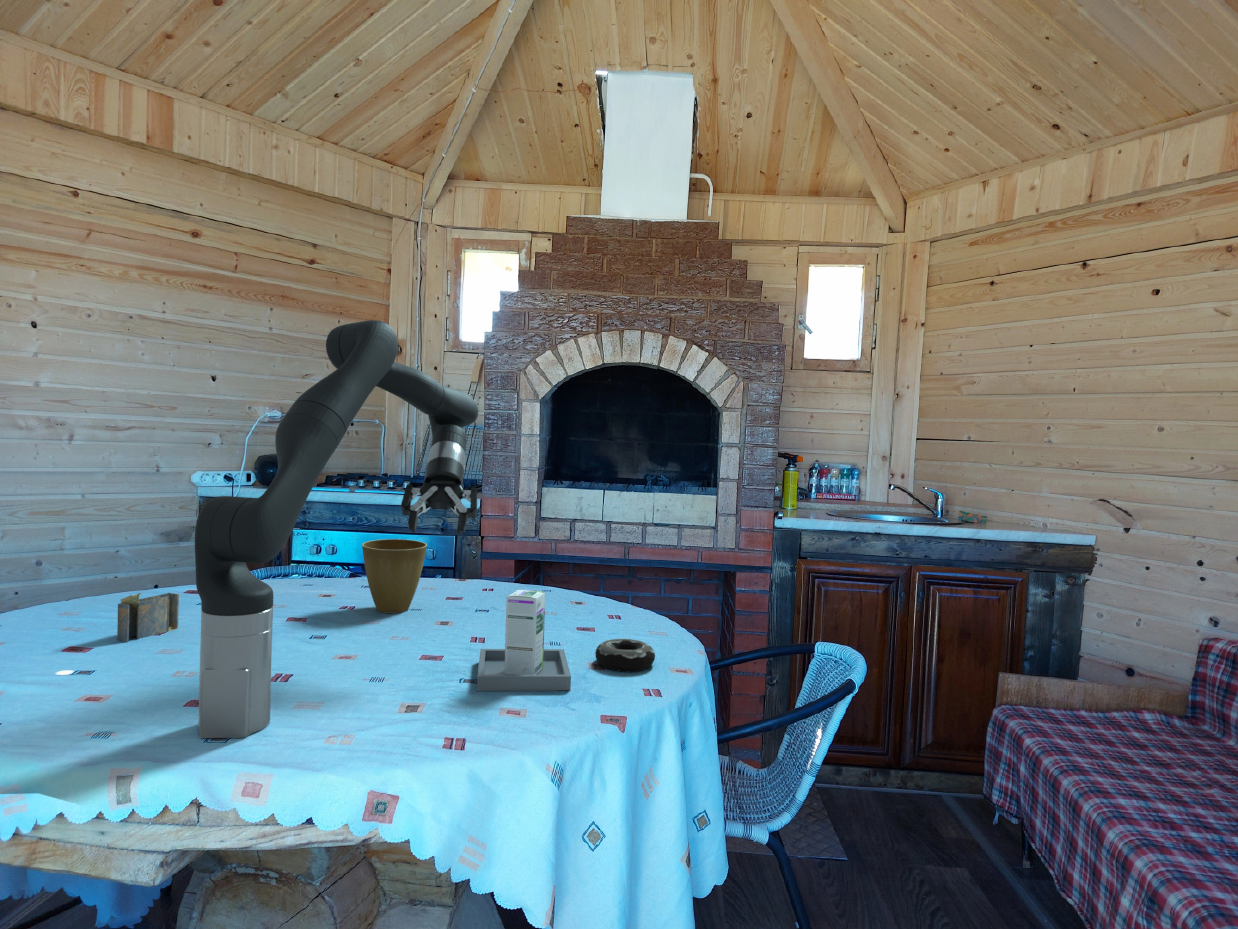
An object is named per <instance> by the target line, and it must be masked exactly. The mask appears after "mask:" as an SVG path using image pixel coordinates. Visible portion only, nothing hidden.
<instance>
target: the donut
mask: <svg viewBox="0 0 1238 929" xmlns="http://www.w3.org/2000/svg"><path fill="white" fill-rule="evenodd" d="M595 659H596V661H597V663H598V664H600V666H601V667H604V668H606V669H608V668H609V670H611V669H614V670H613V671H616V670H620V671H619V672H626V671H630V672H638V671H637V670H640V671H644V670H647V669H648V668H650V667H651V666H652V664H653V663H654V662H655V659H656V653H655V651H654V649H653V647H652V646H651V645H649V644H648V643H646V642H644V641H641V640H638V639H632V638H611V639H607V640H605V641H602V642H601V643H600V644H599V645H598V646H597V647H596V649H595ZM643 669H644V670H643Z"/></svg>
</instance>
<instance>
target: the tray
mask: <svg viewBox="0 0 1238 929" xmlns="http://www.w3.org/2000/svg"><path fill="white" fill-rule="evenodd" d="M568 663H569V662H568V660H567V656H566V653H565V649H564V648H557V649H556V648H544V655H543V668H542V669H541V670H540V671H539V672H538V673H537V674H536V675H507V674H505V672H504V671H505V648H480V650H479V657H478V667H477V668H478V669H477V677H476V692H514V691H515V692H517V691H518V692H533V691H534V692H539V691H540V692H544V691H547V692H548V691H549V692H551V691H552V692H553V691H554V692H555V691H556V692H559V691H558V690H570V691H571V687H572V686H571V683H572V682H571V680H572V675H571V671H570V666H569V665H568Z"/></svg>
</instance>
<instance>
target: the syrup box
mask: <svg viewBox="0 0 1238 929" xmlns="http://www.w3.org/2000/svg"><path fill="white" fill-rule="evenodd" d="M505 601H506V602H505V603H506V606H505V607H506V608H505V637H504V638H505V639H504V640H505V642H504V649H505V671H504V672H505V674H507V675H536V674H537V673H538V672H539V671H540V670H541V669H542V668H543V655H544V649H545V647H544V646H545V643H544V642H545V619H546V618H545V611H546V610H545V609H546V593H545V591H541V590H533V589H516V590H515V592H512V593H511V594H509V595H507V596H506V600H505Z"/></svg>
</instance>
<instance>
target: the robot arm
mask: <svg viewBox="0 0 1238 929" xmlns="http://www.w3.org/2000/svg"><path fill="white" fill-rule="evenodd" d="M398 349H399V342H398V336H397V333H396V331H395V330H394V328H393V327H392V326H391V325H390V324H388V323H387V322H385V321H382V320H377V319H375V320H373V319H369V320H362V321H356V322H351V323H345V324H341V325H338V326H335V327H334V328H333V329H331V331H330V332H329V333H328V335H327V337H326V341H325V351H326V355H327V358H328V359H329V362H331V364H332V365H333V367H334V368H336V369H335V370H333V371H332V372H331V373H330V374H328V375H327V376H325V377H323V378H322V379H321V380H319V381H318V382H316V383H315V384H313V385H312V386H311V387H309V388H308V389H306V390H305V391H304V392H302V394H300V396H298V398H297V399H296V400H295V401H294V402H293V403H292V405H291V406H290V408H289V409H288V411H287V412H286V413H285V415H284V416H283V418H282V419H281V421H280V422H279V424H278V425H277V426H278V427H277V428H276V431H275V440H274V442H275V444H274V445H275V452H276V459H277V472H276V473H275V476H274V477H273V479H272V481H271V483H270V484H269V486H268V487H267V489H266V490H265V491H264V493H262V495H260V496H258V497H248V496H247V497H246V496H245V497H244V496H234V495H233V496H231V495H228V496H226V495H221V496H215V497H213V498H211V499H209V500H208V501H207V502H206V503H205V504H204V505H203V506H202V507H201V509H200V512H199V513H198V516H197V519H196V522H195V528H194V559H195V560H194V562H195V586H196V591H197V593H198V596H199V598H200V603H201V604H200V606H201V607H200V610H201V612H200V613H201V614H200V616H201V617H200V644H199V645H200V649H199V678H198V680H199V685H198V723H197V724H198V725H197V730H198V732H199V738H200V739H217V738H218V739H219V738H221V739H222V738H223V739H224V738H226V739H227V738H235V739H236V738H238V739H239V738H247V737H249V735H251V734H253V733H256V732H258V731H261V730H263V729H265V728H266V727H267V726H268V725H269V724H270V720H271V718H270V717H271V696H272V695H271V691H272V690H271V688H272V687H271V686H272V658H273V655H272V654H273V653H272V652H273V649H272V647H273V624H274V623H273V620H274V616H273V615H274V590H273V588H272V587H271V585H269V584H268V583H266V582H264V581H262V580H261V579H259V578H258V577H256V576H255V575H254V574H253V573H252V572H251V571H250V569H249V568H248V565H247V563H248V564H265V563H269V562H270V561H271V560H272V561H273V559H275V558H276V557H277V556H278V555H279V554H280V552H282V550H283V548H284V547H285V545H286V544H287V542H288V540H289V538H290V536H291V533H292V532H293V530H294V527H295V526H296V524H297V522H298V519H299V517H300V515H301V512H302V510H303V508H304V507H305V503H306V502H307V500H308V498H309V495H310V493H311V492H312V489H313V487H314V486H315V484H316V482H317V481H318V480H319V478H320V475H321V474H322V472H323V470H324V469H325V466H326V465H327V463H328V462H329V460H330V458H331V457H332V456H333V454H334V452H336V450H337V448H338V446H339V445H340V443H341V442H342V440H343V438H344V437H345V435H346V433H347V432H348V429H349V427H350V425H351V424H352V422H353V420H354V419H355V417H356V416H357V414H358V413H359V411H360V410H361V408H362V407H363V405H364V404H365V402H366V400H367V399H368V398H369V396H370V394H371V393H372V392H373V391H374V389H375V388H376V387H377V388H379V389H382V390H384V391H386V392H388V393H389V394H392V395H394V396H396V397H398V398H400V399H402V401H404V402H406V403H408V404H409V405H411V406H412V407H413V408H415V409H417V411H418V410H419V411H420V412H421V413H423V414H425V415H428V421H429V424H430V425H429V426H430V429H431V436H432V439H431V440H432V441H431V444H430V445H431V446H430V449H429V450H430V451H429V453H428V457H427V460H426V461H427V462H426V467H425V472H424V480H423V484H422V486H421V487H413V484H411V483H409V484H407V485H406V486H405V489H404V493H403V496H402V500H401V504H400V508H401V515H402V516H408V520H407V527H408V530H409V531H411V532H410V533H411V534H415V533H417V526H418V521H419V520H418V519H419V518H418V517H419V516H420V515H422V514H425V513H426V512H427V511H429V510H430V509H431V510H444V511H449V509H451V510H452V511H453V513H454V514H455V515H457V517H458V519H457V520H458V521H457V528H456V529H457V532H456V533H457V535H460V536H461V535H462V534H463V533H465V531H466V529H467V528H466V527H467V520H468V519H469V518H471V519H476V518H477V517H478V488H477V487H475V486H473V487H471V488H470V490H469V489H464V488H463V483H464V482H463V481H464V476H465V474H464V473H465V470H466V466H465V465H466V458H465V457H466V455H465V454H466V447H467V434H466V432H465V430H464V429H463V428H465V427H468V426H470V425H472V424H474V423H475V422H476V420H477V419H478V417H479V407H478V405H477V403H476V401H475V400H474V399H473V397H471V395H470V394H468V393H467V392H464V391H462V390H460V389H458V388H457V389H456V388H454V387H450V386H445V385H443V384H441V383H440V382H439V381H437V380H436V379H435V378H433V377H432V376H431V375H429V374H428V373H425V372H424V371H422V370H419V369H417V368H415V367H411V366H409V365H405V364H402V363H398V362H395V361H396V358H397V355H398ZM417 496H420V497H419V498H418V499H417V501H416V502H415V503H414V504H412V500H415V498H416V497H417ZM463 498H465V499H466V500H467V501H468V502H469V503H470V507H468V508H467V507H466V506H465V505H464V504H463V503H462V499H463ZM411 504H412V505H411Z"/></svg>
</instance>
